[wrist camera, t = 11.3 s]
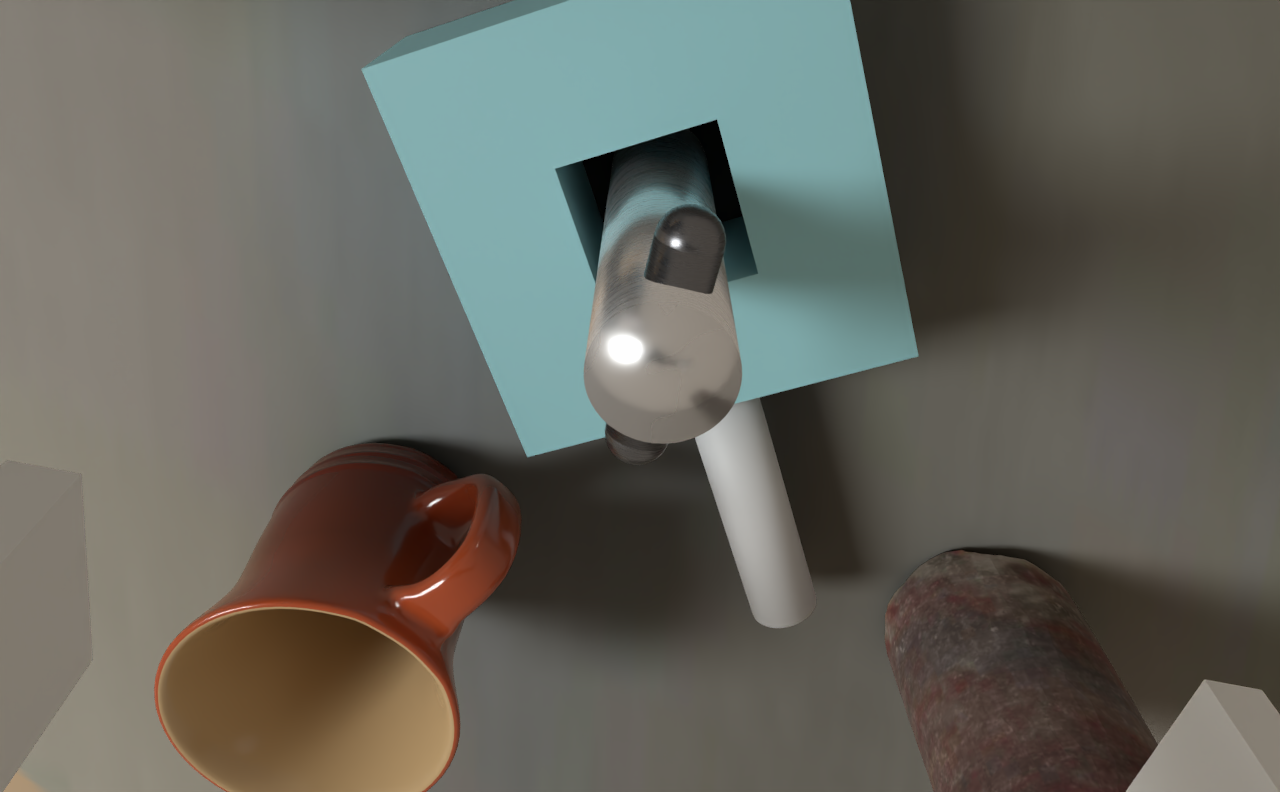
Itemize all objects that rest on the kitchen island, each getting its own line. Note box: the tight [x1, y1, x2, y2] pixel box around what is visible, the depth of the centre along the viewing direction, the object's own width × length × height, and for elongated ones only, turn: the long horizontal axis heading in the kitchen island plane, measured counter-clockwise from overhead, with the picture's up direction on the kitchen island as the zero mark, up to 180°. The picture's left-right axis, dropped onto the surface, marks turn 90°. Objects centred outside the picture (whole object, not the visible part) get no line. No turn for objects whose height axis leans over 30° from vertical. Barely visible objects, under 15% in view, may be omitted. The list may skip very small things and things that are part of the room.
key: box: [584, 129, 742, 465], centre depth 25 cm, size 6×3×14 cm, turn 167°
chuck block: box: [362, 0, 918, 628], centre depth 31 cm, size 22×12×5 cm, turn 17°
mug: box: [154, 443, 522, 792], centre depth 32 cm, size 12×9×10 cm
